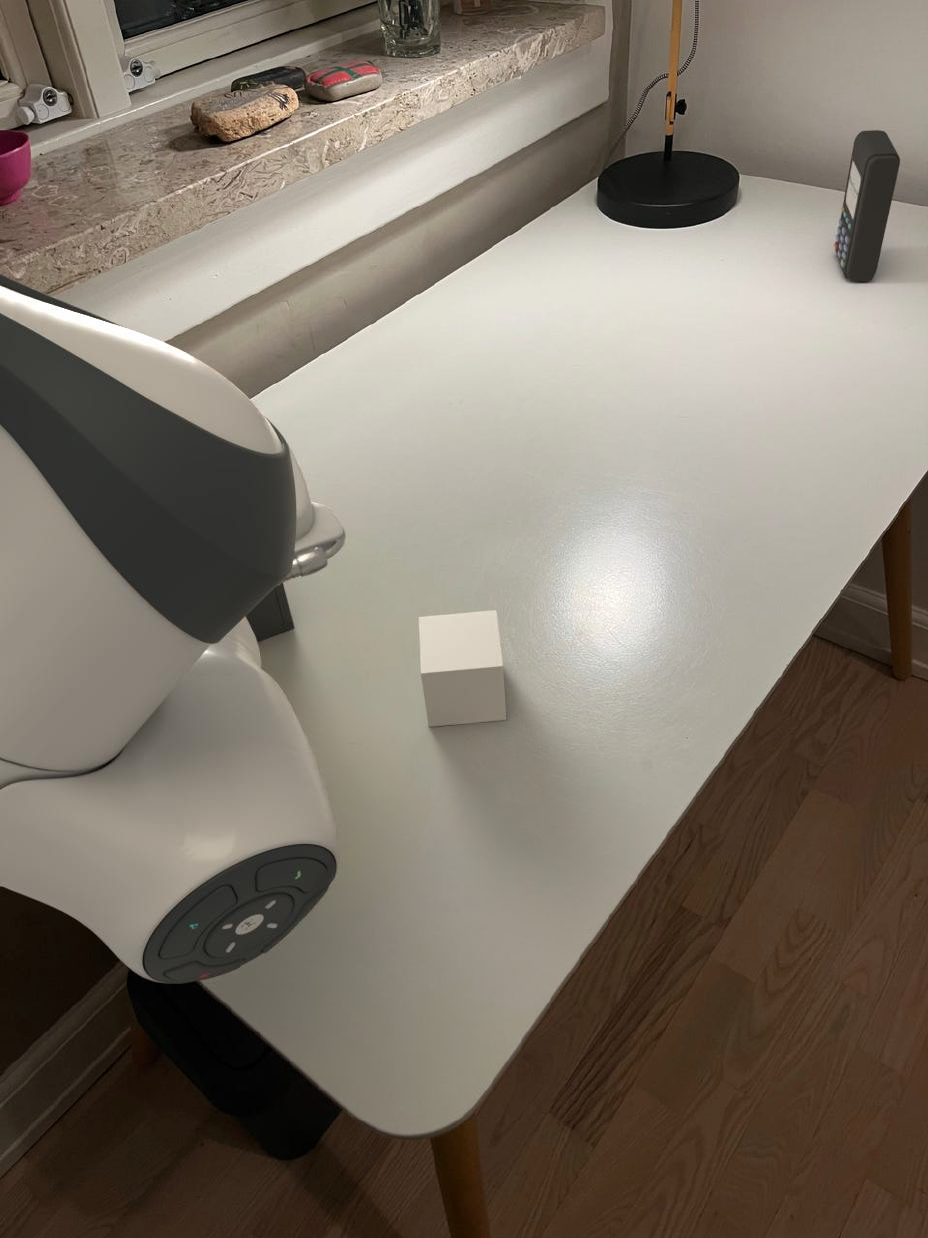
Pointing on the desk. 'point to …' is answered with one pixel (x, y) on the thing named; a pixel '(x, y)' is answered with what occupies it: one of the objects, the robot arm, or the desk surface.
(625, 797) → the desk surface
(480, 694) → the white cube
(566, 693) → the desk surface
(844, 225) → the card reader
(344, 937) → the desk surface
